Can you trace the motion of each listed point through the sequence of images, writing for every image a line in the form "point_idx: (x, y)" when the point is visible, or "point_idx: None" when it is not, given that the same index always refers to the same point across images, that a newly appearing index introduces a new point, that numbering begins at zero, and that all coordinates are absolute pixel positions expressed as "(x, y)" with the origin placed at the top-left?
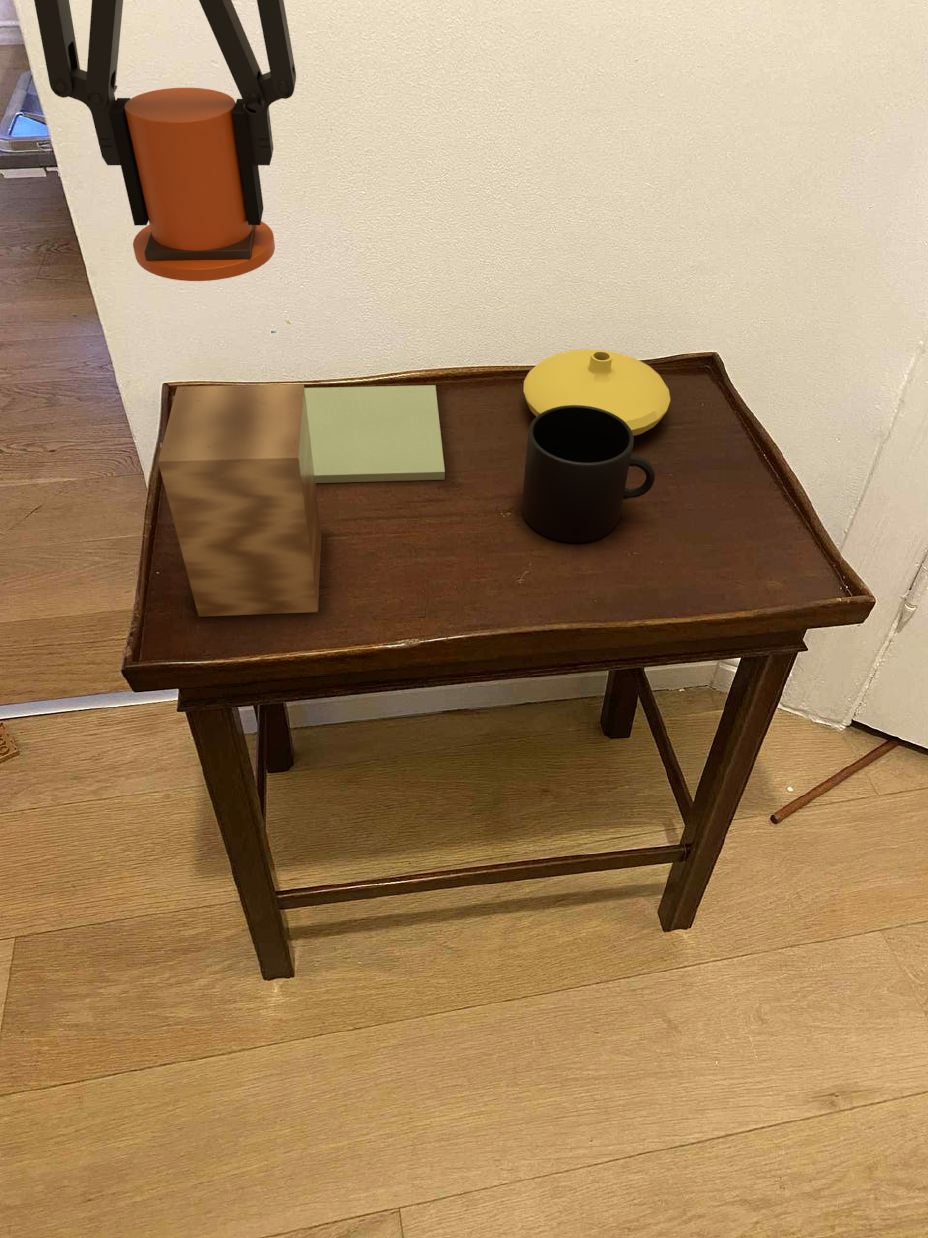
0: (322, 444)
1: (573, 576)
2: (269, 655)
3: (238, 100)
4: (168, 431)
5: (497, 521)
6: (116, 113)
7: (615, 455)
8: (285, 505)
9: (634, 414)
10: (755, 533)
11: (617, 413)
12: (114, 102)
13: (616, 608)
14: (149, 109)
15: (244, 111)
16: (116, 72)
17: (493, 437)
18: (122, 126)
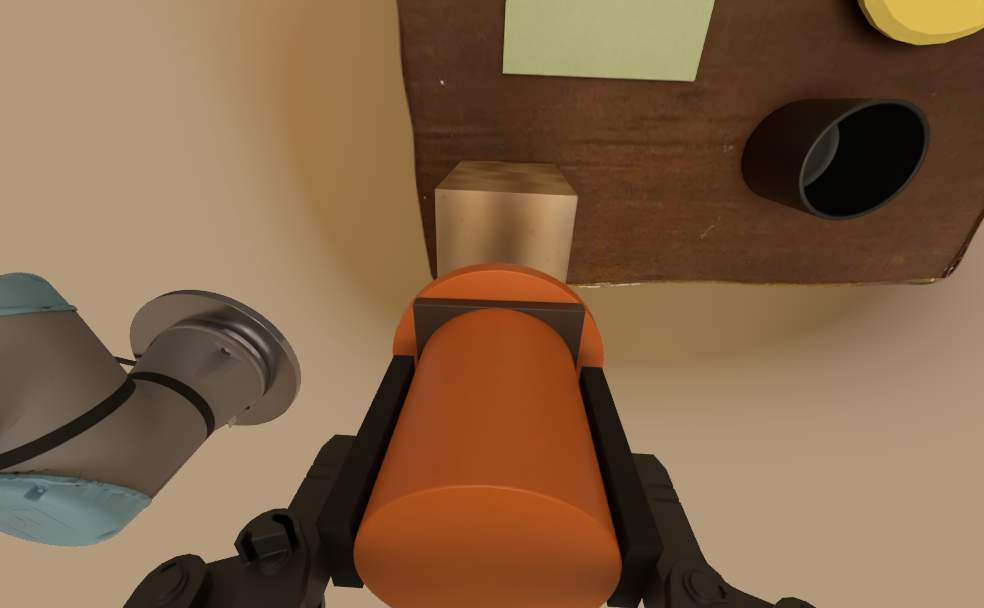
0: (571, 7)
1: (746, 235)
2: None
3: (631, 555)
4: (440, 271)
5: (715, 158)
6: (351, 586)
7: (883, 140)
8: None
9: (978, 18)
10: (938, 198)
11: (957, 16)
12: (323, 550)
13: (760, 270)
14: (421, 593)
15: (635, 599)
16: (300, 601)
17: None
18: None
